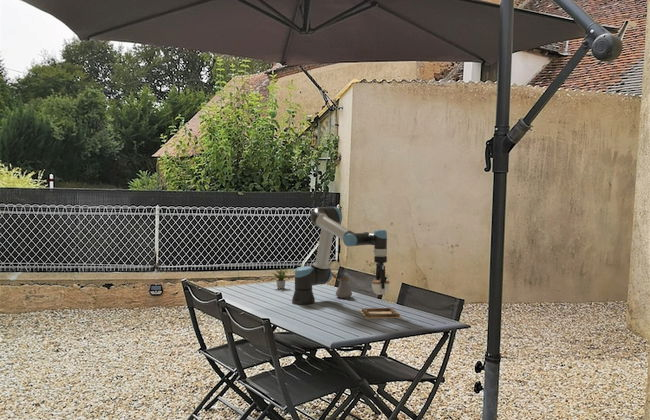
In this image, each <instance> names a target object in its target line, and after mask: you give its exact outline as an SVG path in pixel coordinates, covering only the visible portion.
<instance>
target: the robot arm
mask: <svg viewBox="0 0 650 420" xmlns="http://www.w3.org/2000/svg"><path fill="white" fill-rule="evenodd" d="M342 220H343V214H342V211H341V209H339V208H338V207H337V206H318V207H316V208H314V209H313V210H311V212H310V222H311V223H312V224H313V225H314V226H315V227H317V228H320V229H321V230H320V233H319V234H320V235H319V241H318V247H317V253H316V258H315V261H314V262H313V263H312V266H310V265H309V266H308V265H305V266H299V267H297V268H295V270H294V292H293V295H292V297H291V298H292V299H291V303H292V304H294V305H313V304H315V303H316V298H315V295H314V293H313V286H318V285H320V286H321V285H326V284H328V283H330V282H331V281H332V277H333V276H332V274H333V272H332V269H331V266H330V264H329V262H330V261H329V260H330V256H331V250H332V244H333V238H334V236H335V237H337V238H338V239H340V240H342V241H343V242H342V243H343V244H344V245H345V247H357V246H374V247H373V248H374V249H373V252H374V253H373V254H374V259H373V260H374V263H375V266H376V267H375V268H376V269H375V280H381V282H380V294H385V282H386V280H387V279H386V278H387V277H386V266H385V263H387V262H388V256H387V255H388V234H387V230H385V229H375V230H374V231H373V232H368V231H366V232H364V231H363V232H357V233H356V232H353V231H352V230H350V229H348V228H347V227H345V226H343V225H342V224H341V223H342ZM385 295H386V294H385Z"/></svg>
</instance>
